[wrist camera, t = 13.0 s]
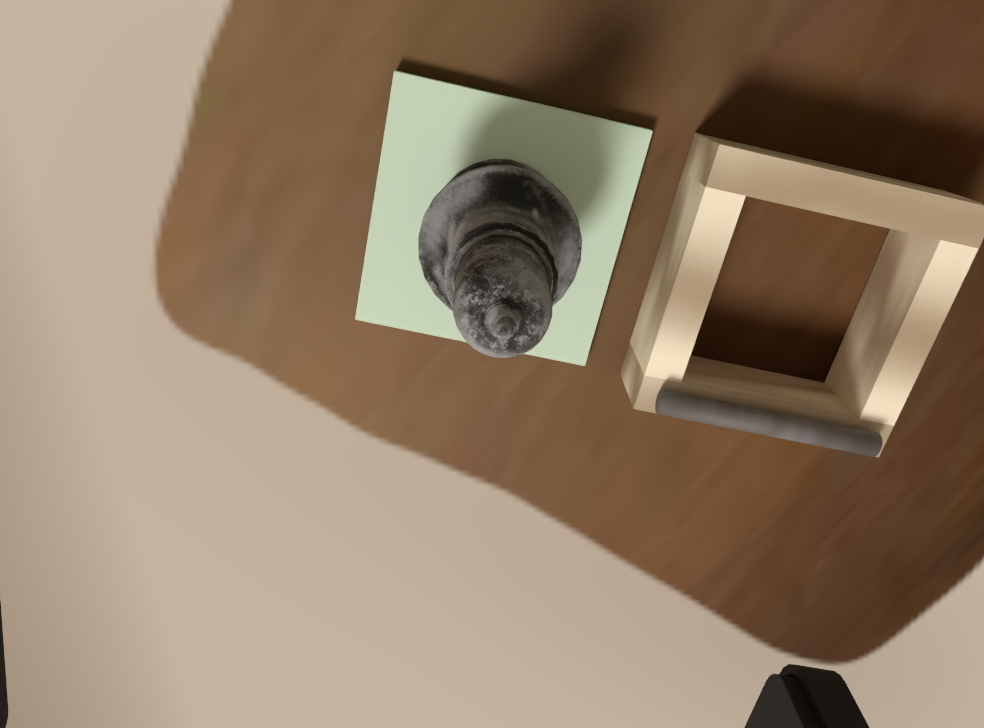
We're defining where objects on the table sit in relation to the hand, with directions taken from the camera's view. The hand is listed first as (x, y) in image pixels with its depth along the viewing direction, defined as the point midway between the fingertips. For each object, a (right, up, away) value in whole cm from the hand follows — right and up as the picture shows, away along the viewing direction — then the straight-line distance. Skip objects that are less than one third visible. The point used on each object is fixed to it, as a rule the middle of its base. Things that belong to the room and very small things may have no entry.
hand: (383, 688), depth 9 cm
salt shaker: (+2, +10, +22) cm, 24 cm away
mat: (+1, +10, +22) cm, 24 cm away
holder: (+13, +7, +23) cm, 27 cm away
